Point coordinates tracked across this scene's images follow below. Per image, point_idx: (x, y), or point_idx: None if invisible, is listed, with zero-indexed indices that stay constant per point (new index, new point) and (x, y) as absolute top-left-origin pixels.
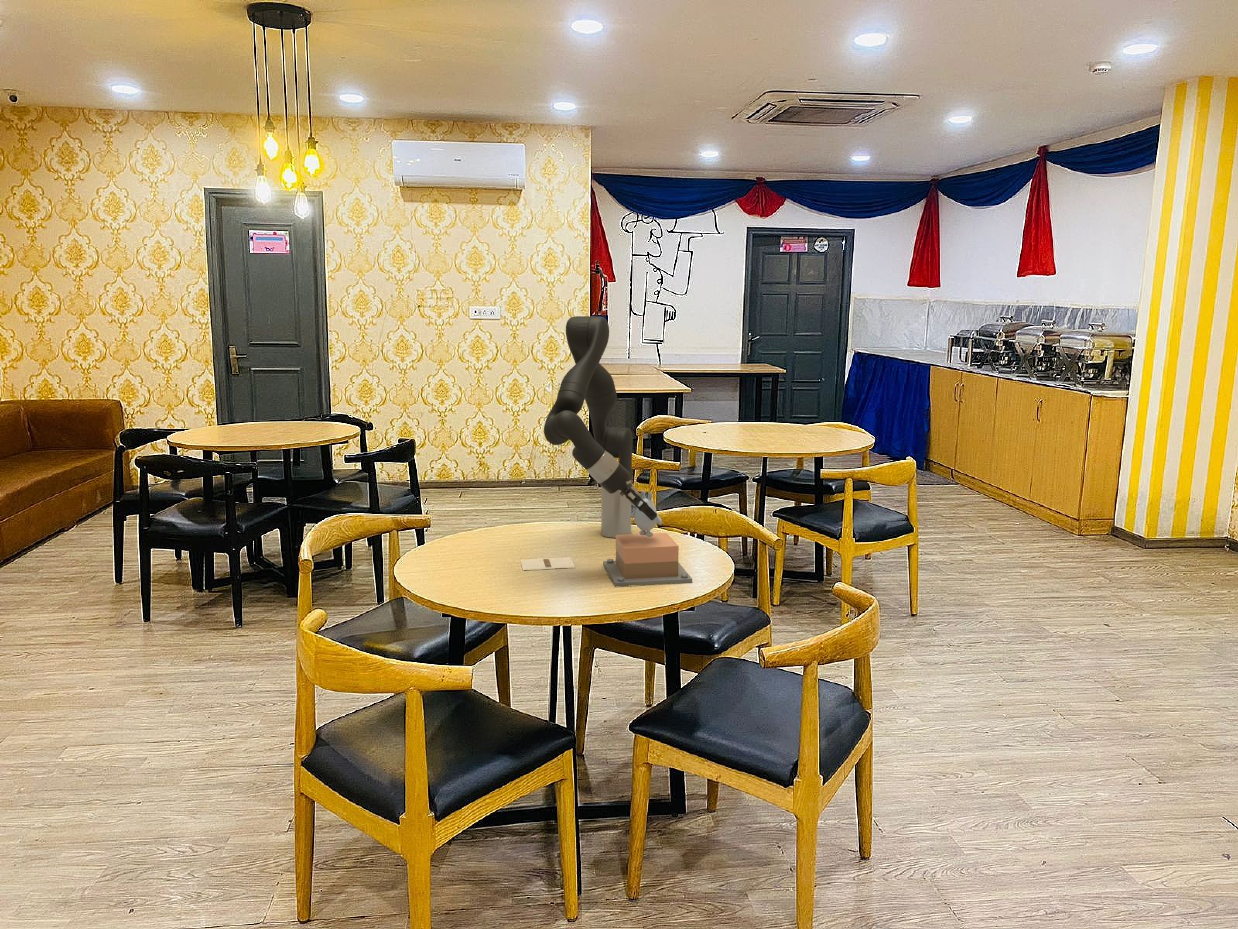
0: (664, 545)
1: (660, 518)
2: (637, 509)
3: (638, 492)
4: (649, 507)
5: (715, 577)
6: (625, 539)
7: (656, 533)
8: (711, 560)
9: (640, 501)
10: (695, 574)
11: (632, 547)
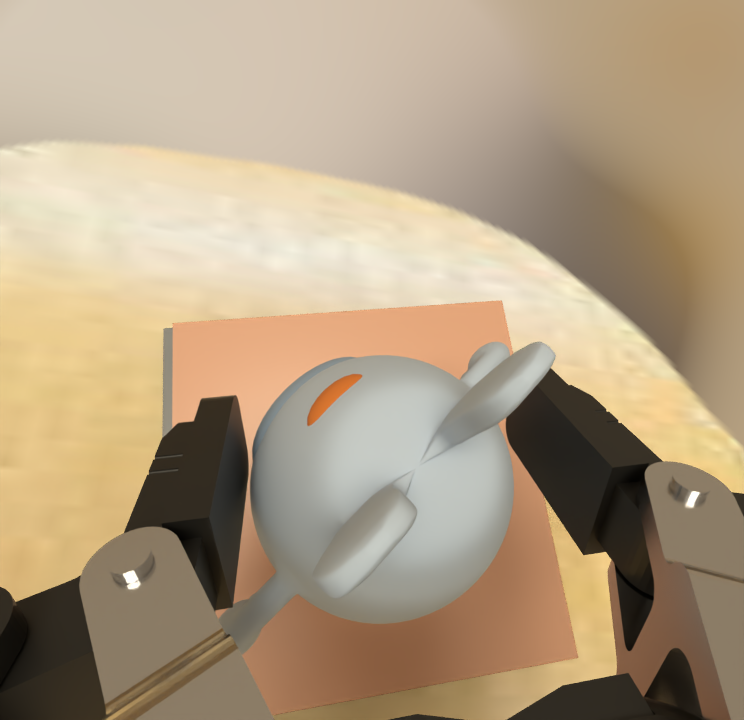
0: None
1: (501, 345)
2: (438, 607)
3: (241, 664)
4: (623, 445)
5: (416, 221)
6: (326, 644)
7: (180, 392)
8: (183, 189)
9: (428, 579)
10: (374, 282)
11: (547, 596)
